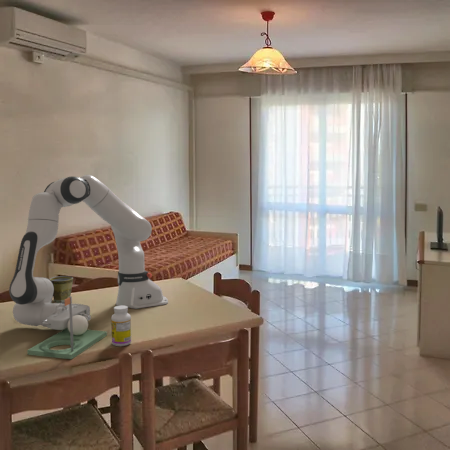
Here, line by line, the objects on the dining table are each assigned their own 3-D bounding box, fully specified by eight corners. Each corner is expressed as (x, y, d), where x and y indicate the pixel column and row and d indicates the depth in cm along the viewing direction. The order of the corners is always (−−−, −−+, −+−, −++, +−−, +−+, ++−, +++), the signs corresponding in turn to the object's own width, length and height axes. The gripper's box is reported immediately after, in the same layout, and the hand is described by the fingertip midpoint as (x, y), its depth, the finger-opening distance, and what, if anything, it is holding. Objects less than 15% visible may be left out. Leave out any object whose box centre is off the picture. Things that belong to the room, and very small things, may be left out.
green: (67, 331, 200) (65, 279, 198) (106, 335, 196) (105, 282, 194) (27, 354, 177) (24, 296, 175) (71, 359, 173) (69, 299, 171)
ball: (87, 330, 197) (86, 311, 196) (89, 336, 190) (88, 317, 189) (67, 332, 194) (66, 313, 194) (68, 338, 188) (67, 319, 187)
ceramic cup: (76, 301, 242) (76, 279, 241) (54, 304, 237) (53, 282, 236) (67, 295, 253) (66, 273, 252) (45, 298, 247) (44, 276, 246)
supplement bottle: (113, 340, 191) (112, 304, 189) (132, 340, 191) (131, 304, 190) (110, 347, 184) (109, 310, 183) (130, 346, 185) (129, 309, 183)
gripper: (38, 315, 191) (73, 318, 187) (69, 300, 211) (101, 302, 207) (38, 332, 192) (74, 336, 188) (69, 316, 211) (102, 319, 208)
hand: (88, 318), depth 198 cm, fingers closed
